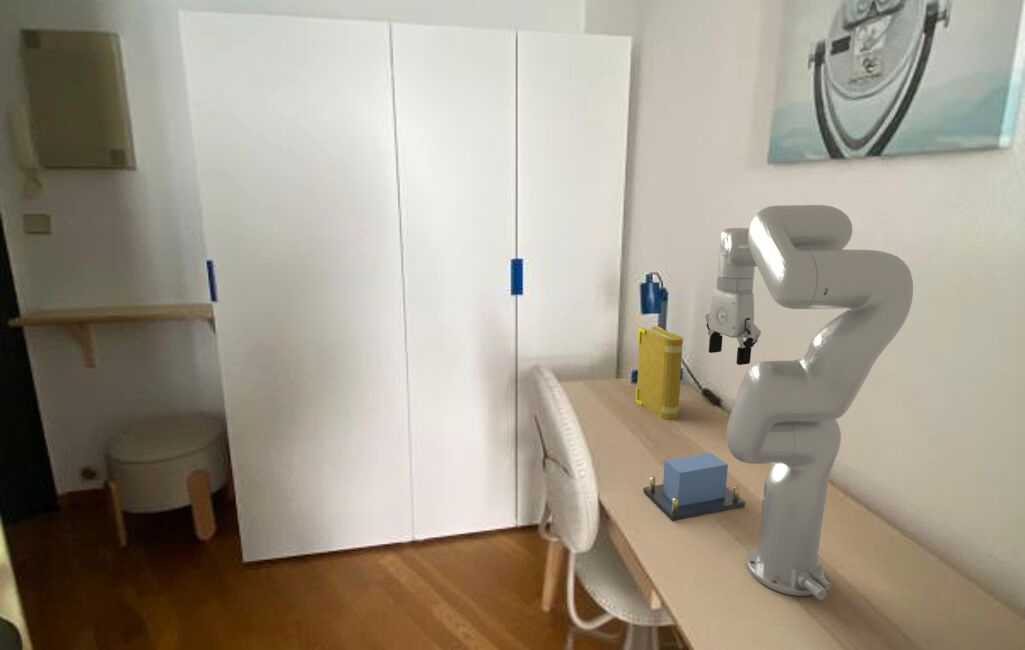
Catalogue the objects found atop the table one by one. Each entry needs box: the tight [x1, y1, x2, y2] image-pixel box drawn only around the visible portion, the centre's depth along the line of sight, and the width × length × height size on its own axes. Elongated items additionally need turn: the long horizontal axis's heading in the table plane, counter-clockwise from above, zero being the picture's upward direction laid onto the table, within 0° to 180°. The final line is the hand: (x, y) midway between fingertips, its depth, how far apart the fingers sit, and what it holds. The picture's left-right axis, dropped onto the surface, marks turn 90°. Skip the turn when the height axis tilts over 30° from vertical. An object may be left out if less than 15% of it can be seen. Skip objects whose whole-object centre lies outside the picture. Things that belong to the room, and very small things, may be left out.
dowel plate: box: [643, 476, 746, 522], centre depth 123 cm, size 12×18×4 cm, turn 106°
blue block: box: [662, 452, 729, 506], centre depth 122 cm, size 12×6×8 cm, turn 106°
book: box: [634, 326, 684, 421], centre depth 171 cm, size 17×7×25 cm, turn 17°
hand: (728, 357), depth 126 cm, fingers open, 9 cm apart
